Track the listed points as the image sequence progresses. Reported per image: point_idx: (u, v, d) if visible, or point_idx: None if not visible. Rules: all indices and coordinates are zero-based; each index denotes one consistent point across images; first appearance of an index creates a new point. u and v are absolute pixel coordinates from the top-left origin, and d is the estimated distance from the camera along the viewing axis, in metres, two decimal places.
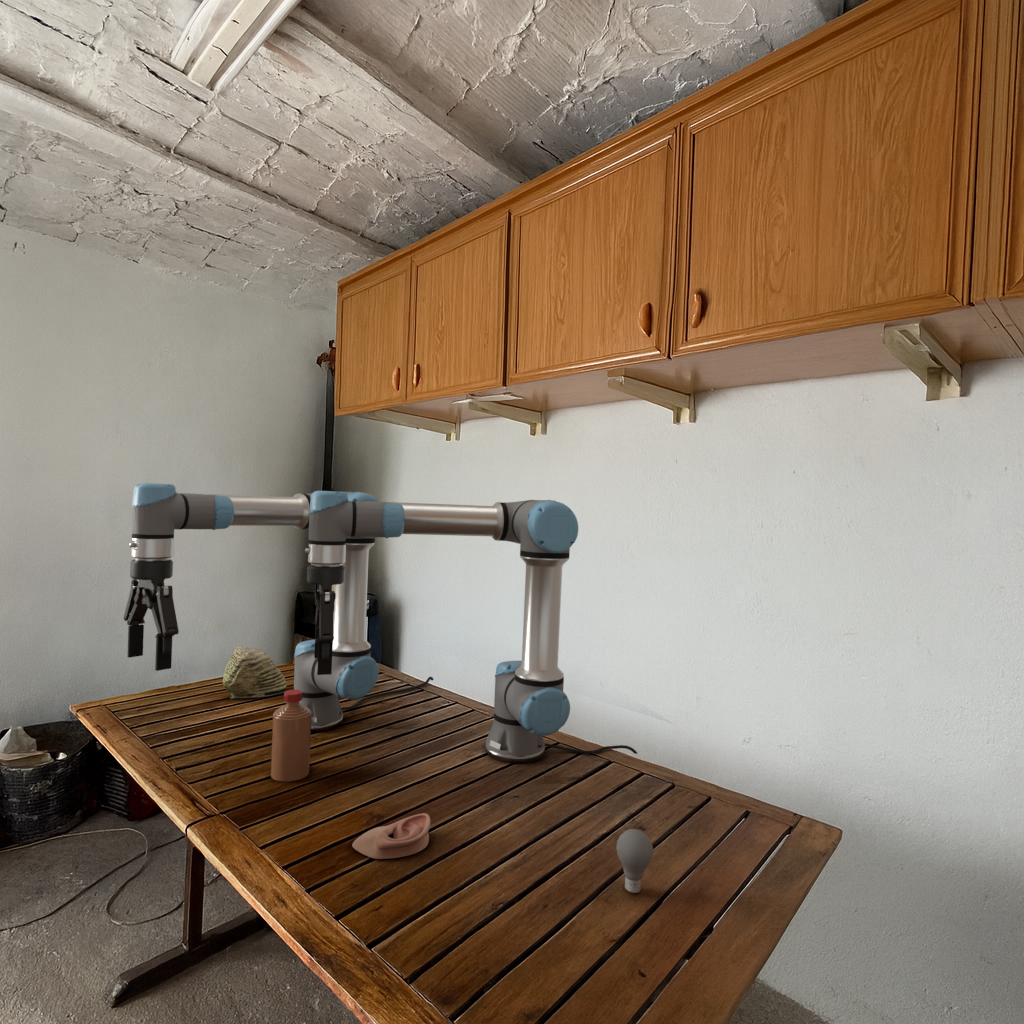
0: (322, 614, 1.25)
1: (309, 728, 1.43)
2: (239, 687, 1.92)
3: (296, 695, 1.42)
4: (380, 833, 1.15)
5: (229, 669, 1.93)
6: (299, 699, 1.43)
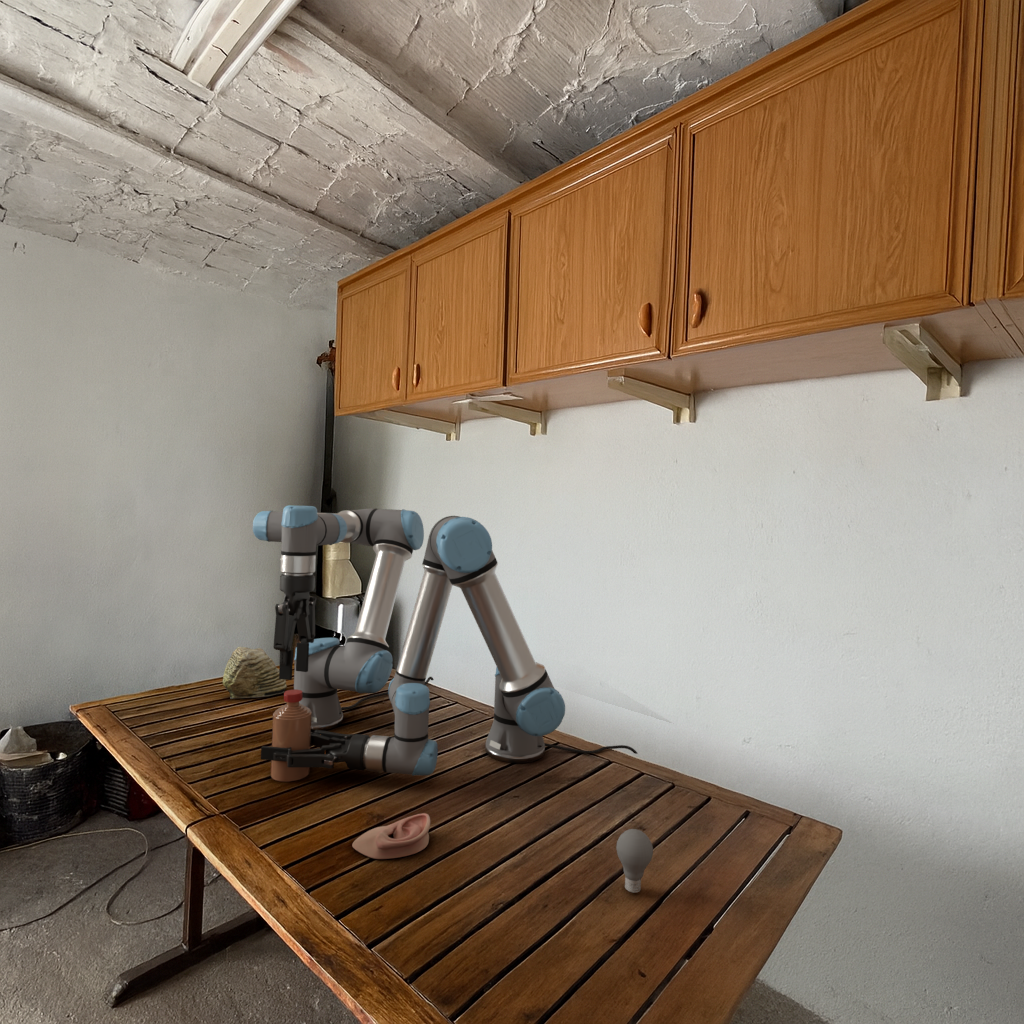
0: None
1: (309, 728, 1.43)
2: (239, 687, 1.92)
3: (296, 695, 1.42)
4: (380, 833, 1.15)
5: (229, 669, 1.93)
6: (299, 699, 1.43)
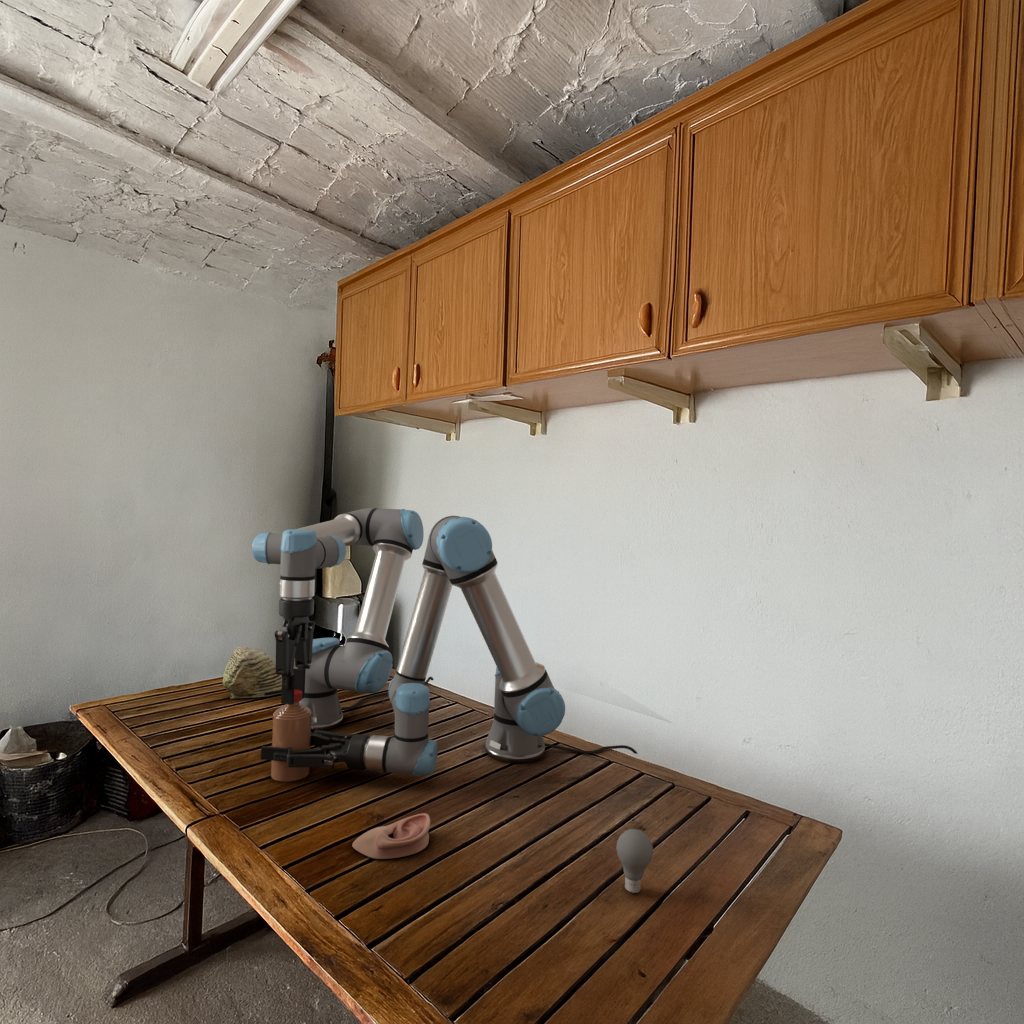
0: None
1: (309, 728, 1.43)
2: (239, 687, 1.92)
3: (296, 695, 1.42)
4: (380, 833, 1.15)
5: (229, 669, 1.93)
6: (299, 699, 1.43)
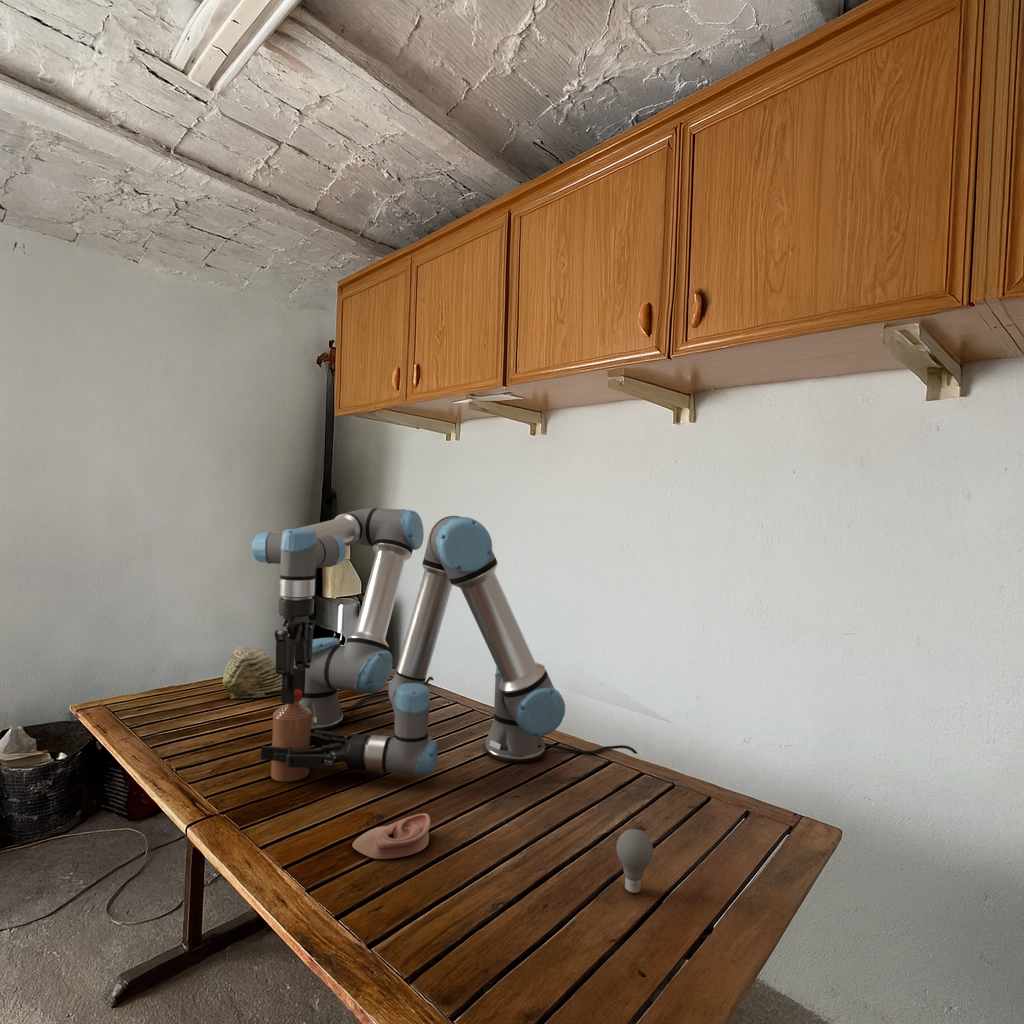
0: None
1: (309, 728, 1.43)
2: (239, 687, 1.92)
3: None
4: (380, 833, 1.15)
5: (229, 669, 1.93)
6: None
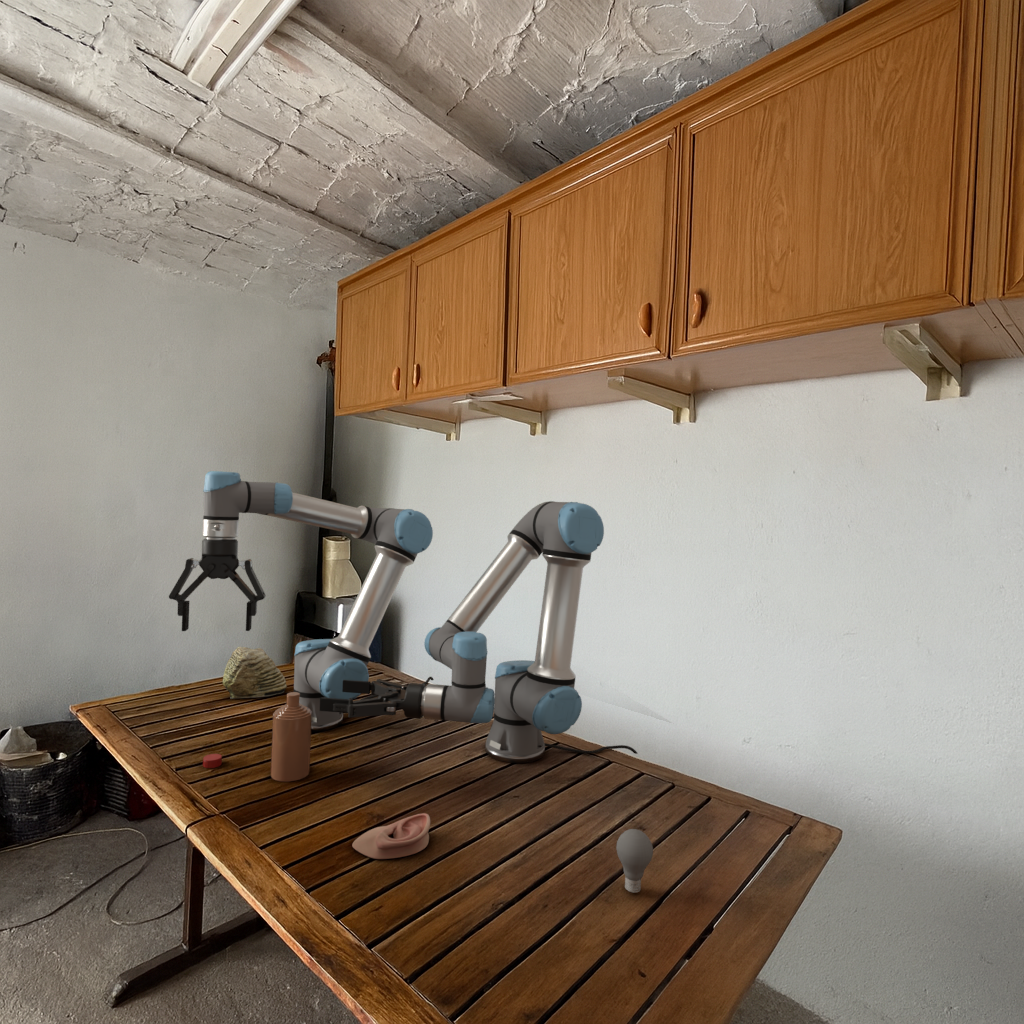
0: None
1: (309, 728, 1.43)
2: (239, 687, 1.92)
3: None
4: (380, 833, 1.15)
5: (229, 669, 1.93)
6: None
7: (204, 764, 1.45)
